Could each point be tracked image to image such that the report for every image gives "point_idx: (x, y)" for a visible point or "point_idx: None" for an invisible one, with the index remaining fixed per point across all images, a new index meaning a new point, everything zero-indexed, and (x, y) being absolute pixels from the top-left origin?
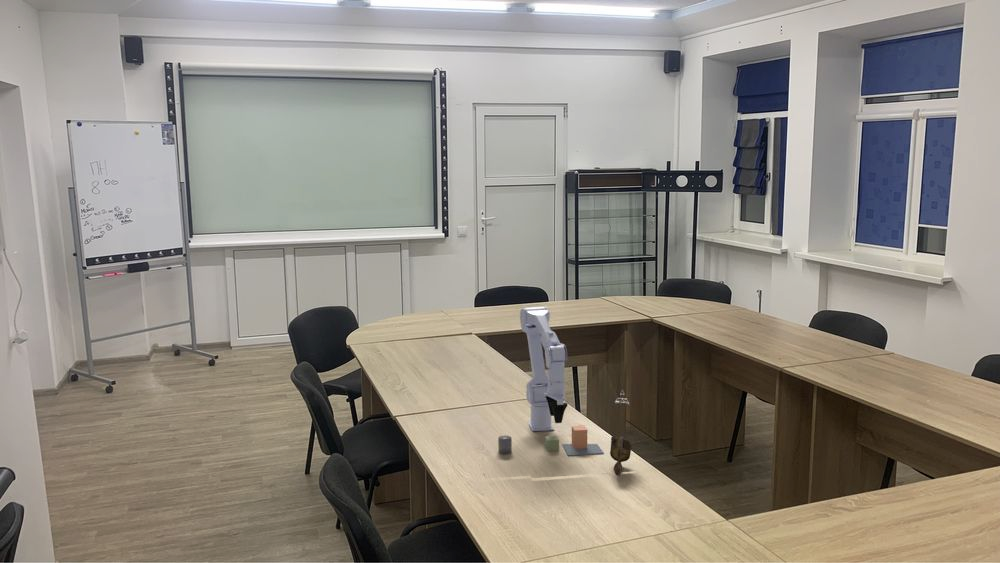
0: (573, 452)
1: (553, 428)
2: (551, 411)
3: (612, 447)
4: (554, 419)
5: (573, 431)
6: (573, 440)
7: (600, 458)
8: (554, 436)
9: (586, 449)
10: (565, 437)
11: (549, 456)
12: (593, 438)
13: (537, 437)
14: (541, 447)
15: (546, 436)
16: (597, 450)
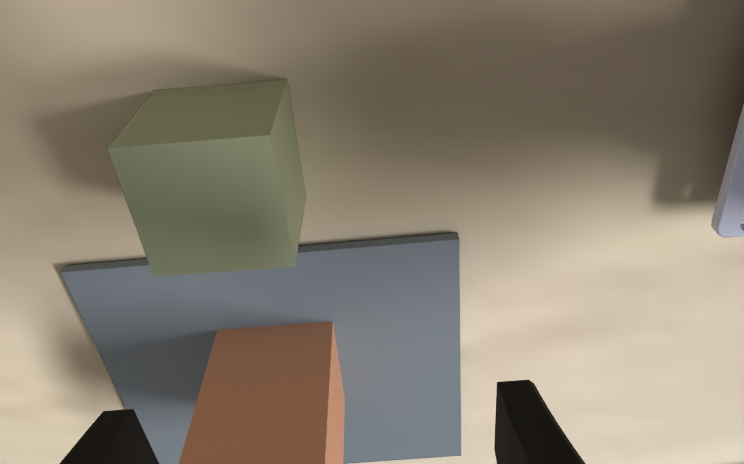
0: (131, 315)
1: (732, 232)
2: (516, 460)
3: None
4: (95, 452)
5: (231, 455)
6: (246, 375)
7: (71, 445)
8: (266, 243)
9: None
10: (545, 290)
11: (14, 100)
12: (475, 451)
13: (627, 20)
14: (285, 37)
15: (264, 152)
16: None
